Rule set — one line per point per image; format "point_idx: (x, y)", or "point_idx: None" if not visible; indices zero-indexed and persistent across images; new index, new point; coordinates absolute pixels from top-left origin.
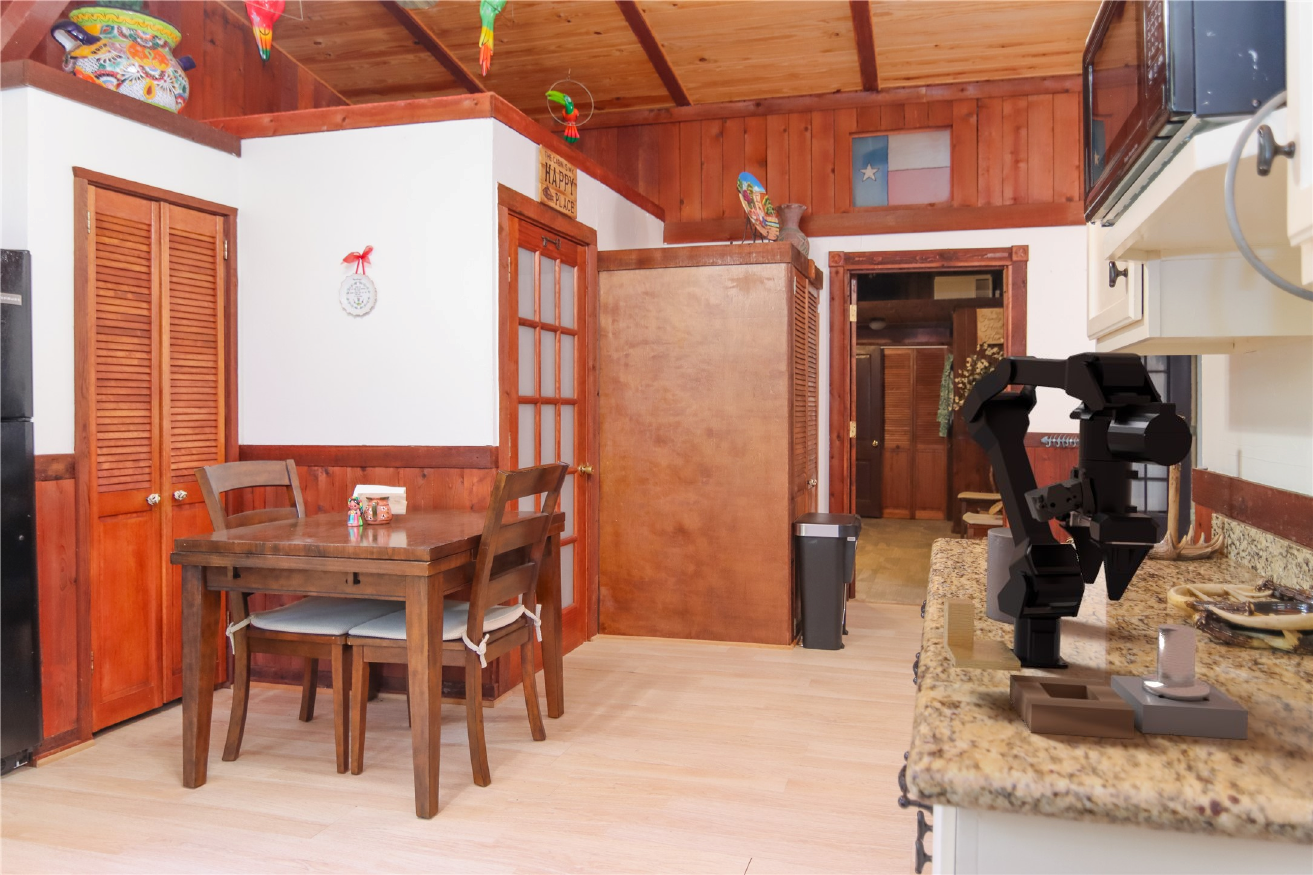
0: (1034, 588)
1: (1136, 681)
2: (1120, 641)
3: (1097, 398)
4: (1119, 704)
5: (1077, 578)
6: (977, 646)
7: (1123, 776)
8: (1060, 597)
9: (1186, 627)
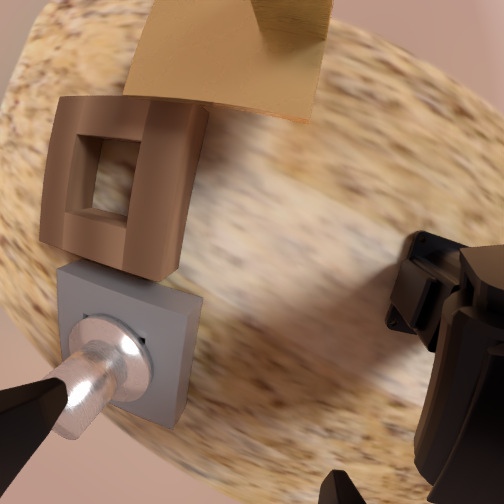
0: (462, 310)
1: (154, 335)
2: None
3: None
4: (53, 232)
5: (432, 471)
6: (253, 35)
7: (4, 167)
8: (428, 387)
9: (62, 430)
